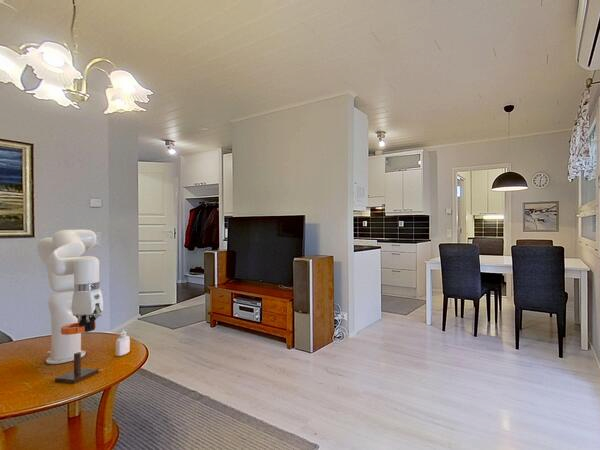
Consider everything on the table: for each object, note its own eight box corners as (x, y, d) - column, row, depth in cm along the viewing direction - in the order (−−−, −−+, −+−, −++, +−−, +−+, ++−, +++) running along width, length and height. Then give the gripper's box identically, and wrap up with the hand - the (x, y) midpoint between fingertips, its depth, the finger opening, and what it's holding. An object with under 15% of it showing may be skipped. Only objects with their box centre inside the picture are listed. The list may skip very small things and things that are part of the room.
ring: (54, 334, 125) (54, 328, 125) (82, 326, 135) (82, 320, 135) (75, 335, 123) (75, 329, 123) (102, 326, 133) (102, 321, 133)
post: (54, 381, 123) (54, 357, 123) (80, 371, 132) (80, 348, 132) (73, 383, 122) (74, 358, 122) (98, 372, 131) (98, 349, 131)
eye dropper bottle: (131, 352, 151) (132, 328, 151) (116, 357, 146) (117, 332, 146) (128, 350, 153) (128, 327, 153) (113, 355, 148) (113, 330, 148)
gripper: (112, 285, 131) (112, 328, 131) (80, 285, 133) (80, 327, 133) (93, 289, 124) (93, 334, 124) (59, 288, 126) (59, 333, 126)
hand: (86, 330), depth 129 cm, fingers closed on ring, 2 cm apart
